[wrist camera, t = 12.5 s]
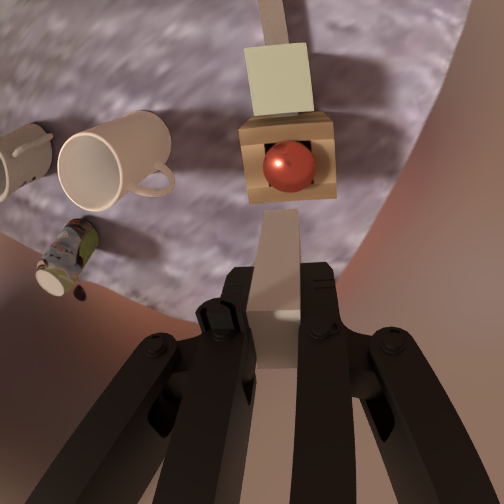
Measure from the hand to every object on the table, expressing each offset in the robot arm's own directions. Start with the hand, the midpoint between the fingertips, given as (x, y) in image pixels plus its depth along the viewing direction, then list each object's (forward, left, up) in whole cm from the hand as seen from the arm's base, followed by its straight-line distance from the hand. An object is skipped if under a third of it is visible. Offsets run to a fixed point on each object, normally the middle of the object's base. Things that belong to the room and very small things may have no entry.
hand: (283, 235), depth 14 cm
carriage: (-7, 0, -22) cm, 23 cm away
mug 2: (-1, -17, -23) cm, 28 cm away
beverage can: (+10, -32, -23) cm, 40 cm away
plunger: (0, 0, -19) cm, 19 cm away
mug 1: (-6, -36, -23) cm, 43 cm away
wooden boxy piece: (0, 0, -22) cm, 22 cm away
